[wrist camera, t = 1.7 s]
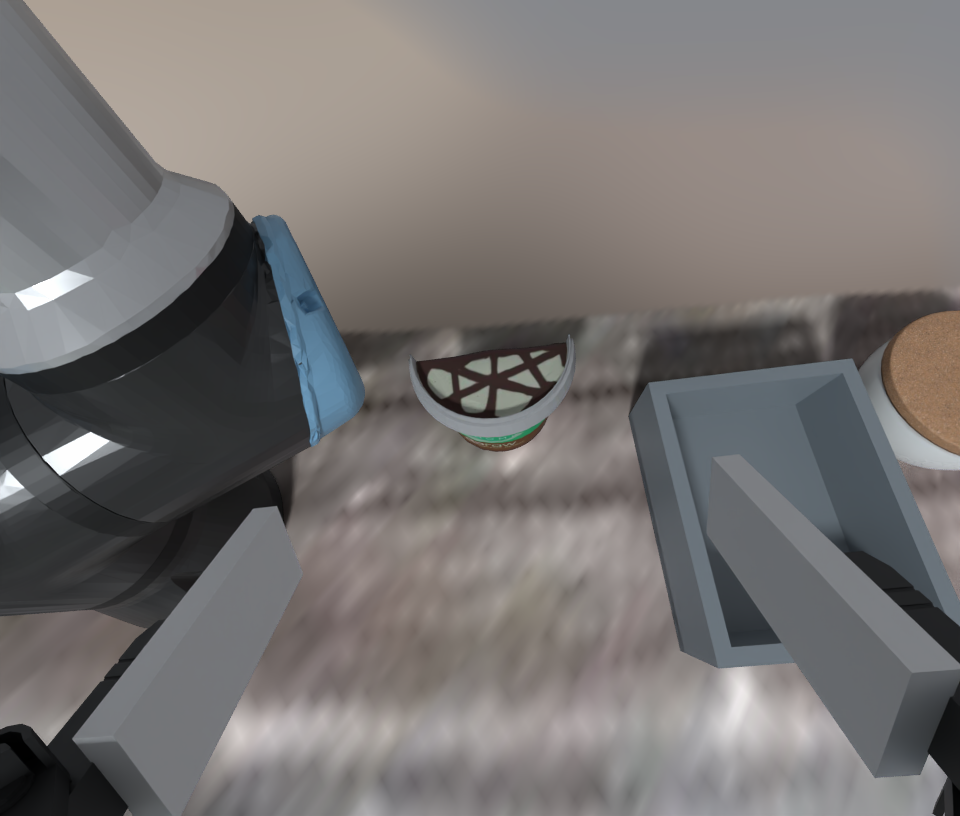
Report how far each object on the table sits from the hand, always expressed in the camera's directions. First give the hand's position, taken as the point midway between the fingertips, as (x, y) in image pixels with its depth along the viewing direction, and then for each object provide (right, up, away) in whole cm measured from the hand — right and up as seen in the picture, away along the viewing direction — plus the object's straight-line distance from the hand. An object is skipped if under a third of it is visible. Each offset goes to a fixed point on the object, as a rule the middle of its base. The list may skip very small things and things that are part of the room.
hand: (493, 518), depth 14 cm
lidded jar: (+33, +2, +23) cm, 40 cm away
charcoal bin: (+20, -5, +21) cm, 30 cm away
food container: (+2, +1, +26) cm, 26 cm away
